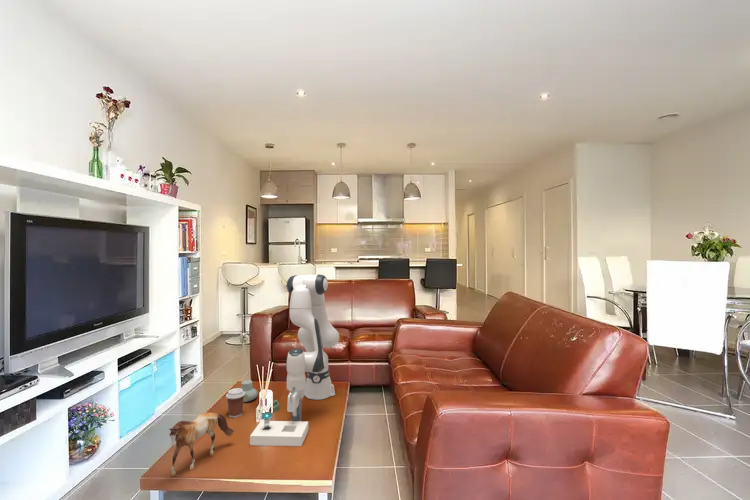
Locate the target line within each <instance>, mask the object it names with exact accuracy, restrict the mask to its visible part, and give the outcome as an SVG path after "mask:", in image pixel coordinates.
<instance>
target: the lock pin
mask: <svg viewBox="0 0 750 500" xmlns="http://www.w3.org/2000/svg"><path fill="white" fill-rule="evenodd" d="M271 418H273V413H271V412H265V413H261V419H262V420H263V421H264V429H265V430H268V429H269V428H270V427H269V421H270V419H271Z"/></svg>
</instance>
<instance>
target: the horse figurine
mask: <svg viewBox="0 0 750 500" xmlns="http://www.w3.org/2000/svg"><path fill="white" fill-rule="evenodd" d="M216 426H218V427H219V429H220V430H221V431H222V432H224V434H225V435H226V436H227V437H231V435H234V432H235V431H236V430H235V429H232V428H231V427H229V426H228V422H227V419H226V417H225V416H224V415H223V414H221V413H219V412H203V413H200V414H199V415H197V416H196V418H195V419H194V420H193V421H188V420H180V421H178V422H177V423H175V424H174V425H173V426H172V427H171V428H169V431H170V432H169V437H170V439H171V441H170V445H171V447H175V448H174V450H173V451H174V453H173V456H172V464H171V469H170V470H171V474H170V475H171V477H175V476H176V473H177V472H176V470H175V464H176V460H177V458H178V455H179V453H180V451H181V449H182V448H183V447H184V446H187V447H188V448H189V450H190V451H189V454H190V455H189V456H190V457H191V464H190V465H189V471H193V469H194V468H195V462H196V459H195V456H194V454H195V451H194V443H195V441H196V440H198V439H199V438H201V437H202V436H203V435H205V433H206V434H208V435H209V436H210V439H211V443H210V446H209V456H210V457H212V456H213V455H214V449H215V447H216V446H215V443H216V441H215V439H216V433H215V432H214V429H215V428H216Z"/></svg>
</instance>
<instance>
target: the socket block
mask: <svg viewBox="0 0 750 500" xmlns="http://www.w3.org/2000/svg"><path fill="white" fill-rule="evenodd" d="M269 427H270V428H269V429H268V430H265V429H264V420H261V421H259V423H258V425H257V426H255V429H253V431H252V432H251V434H250V436H249V445H250V446H266V447H268V446H271V447H272V446H273V447H275V446H277V447H302V446H303V443H304V441H305V439H306V437H307V434H308V432H309V421H303V420H302V421H291V420H284V421H283V420H269Z"/></svg>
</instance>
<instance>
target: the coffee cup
mask: <svg viewBox="0 0 750 500" xmlns="http://www.w3.org/2000/svg"><path fill="white" fill-rule="evenodd" d="M244 396H245V392H244V391H243V389H241V387H236V388H232V389H228V392H227V393H226V395H225V398H226V399H227V410H228V416H229V417H230V418H238V417H241V416H242V415H243V408H244V402H243V399H244Z"/></svg>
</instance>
